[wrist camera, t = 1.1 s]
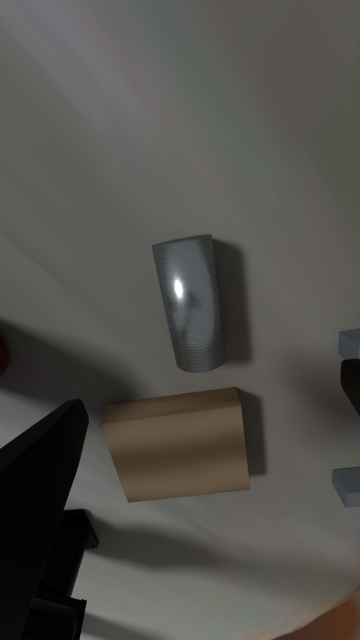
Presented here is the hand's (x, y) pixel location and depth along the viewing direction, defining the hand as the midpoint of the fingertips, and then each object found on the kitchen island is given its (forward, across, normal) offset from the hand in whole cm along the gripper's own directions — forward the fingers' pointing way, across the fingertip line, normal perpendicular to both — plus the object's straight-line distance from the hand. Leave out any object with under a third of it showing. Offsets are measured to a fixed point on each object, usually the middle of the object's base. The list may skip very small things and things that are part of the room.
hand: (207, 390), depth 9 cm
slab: (+12, +4, +14) cm, 19 cm away
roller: (+12, 0, 0) cm, 12 cm away
